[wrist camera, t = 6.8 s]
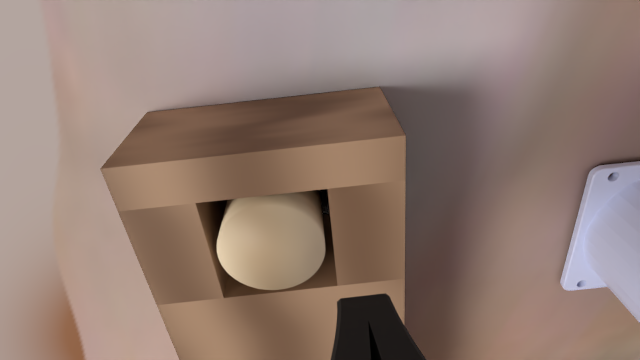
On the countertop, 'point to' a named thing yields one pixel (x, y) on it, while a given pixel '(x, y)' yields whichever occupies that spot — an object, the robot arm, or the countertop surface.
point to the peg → (272, 239)
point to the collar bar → (260, 180)
